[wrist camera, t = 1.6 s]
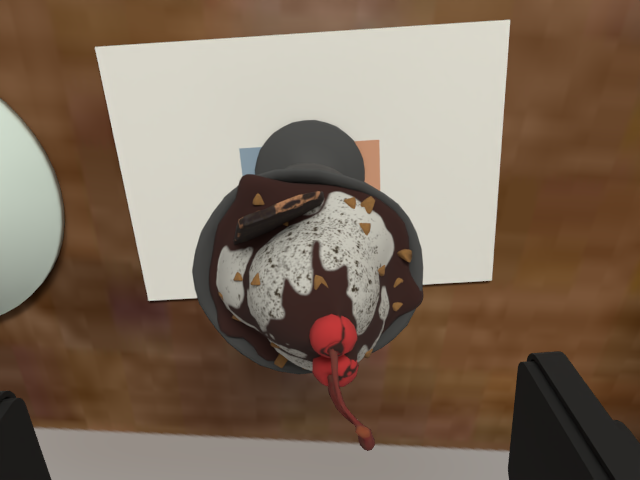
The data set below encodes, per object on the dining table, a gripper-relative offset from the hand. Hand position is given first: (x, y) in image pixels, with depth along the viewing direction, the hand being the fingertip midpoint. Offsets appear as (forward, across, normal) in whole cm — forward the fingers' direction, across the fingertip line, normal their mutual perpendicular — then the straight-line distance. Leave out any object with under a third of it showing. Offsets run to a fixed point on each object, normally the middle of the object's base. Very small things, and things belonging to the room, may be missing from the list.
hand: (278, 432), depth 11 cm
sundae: (+16, -1, 0) cm, 16 cm away
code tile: (+16, -1, 0) cm, 16 cm away
